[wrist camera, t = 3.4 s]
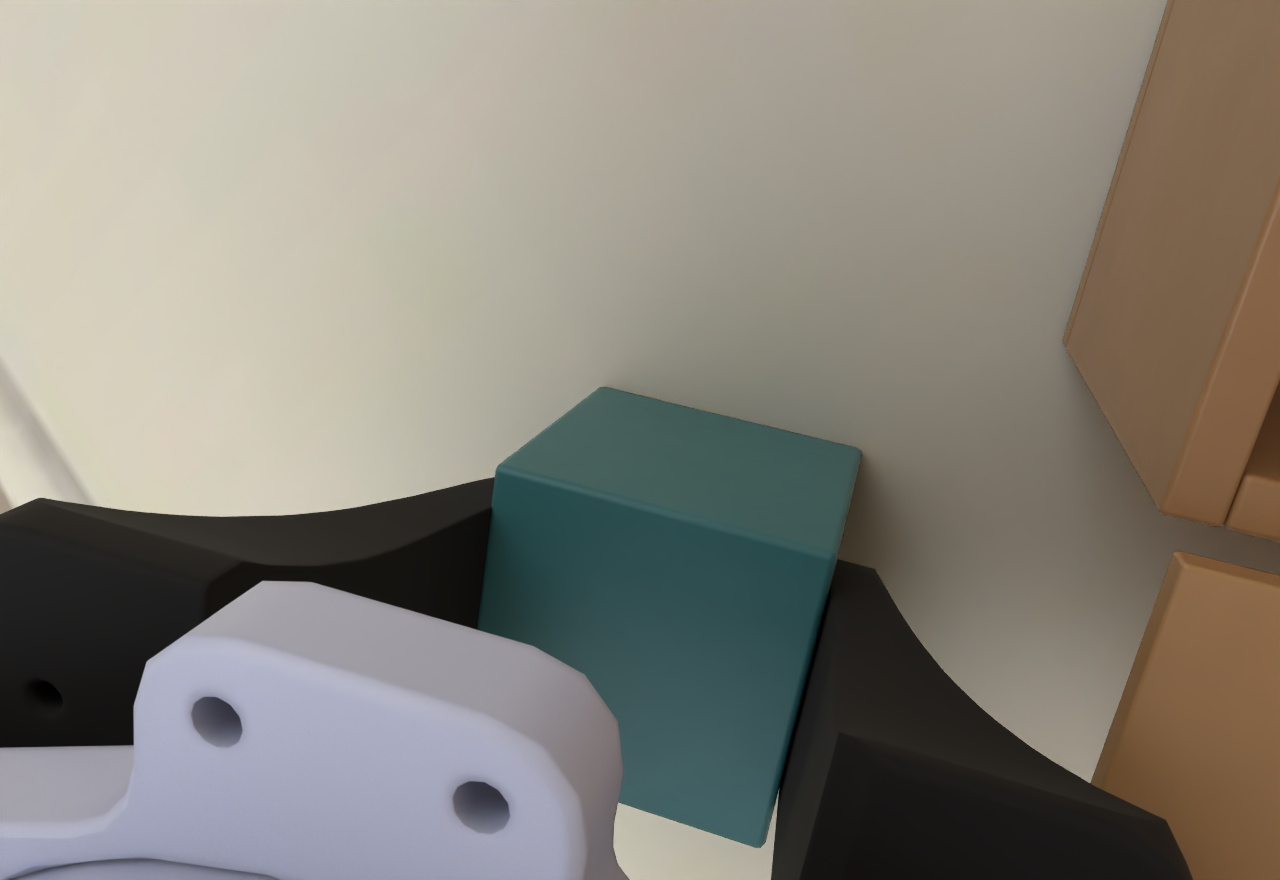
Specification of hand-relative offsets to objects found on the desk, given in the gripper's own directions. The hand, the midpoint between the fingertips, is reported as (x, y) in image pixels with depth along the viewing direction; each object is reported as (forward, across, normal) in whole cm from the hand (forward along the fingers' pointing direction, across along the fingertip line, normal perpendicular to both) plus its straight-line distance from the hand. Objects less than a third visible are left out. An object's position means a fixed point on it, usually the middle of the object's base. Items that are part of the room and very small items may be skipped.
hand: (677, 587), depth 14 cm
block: (+2, 0, 0) cm, 2 cm away
